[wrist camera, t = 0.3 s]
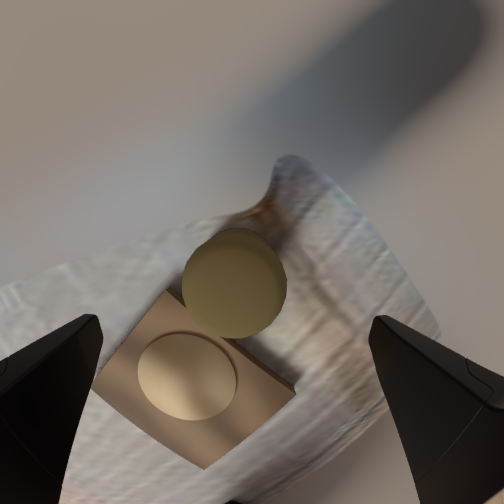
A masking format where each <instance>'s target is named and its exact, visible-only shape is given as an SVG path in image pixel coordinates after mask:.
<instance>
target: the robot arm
mask: <svg viewBox="0 0 504 504" xmlns="http://www.w3.org/2000/svg"><path fill="white" fill-rule="evenodd" d="M102 344H103V333H102V330H101V326H100V323H99V319H98V317H97V316H96V315H94V314H84V315H82V316H80V317H78V318H77V319H75V320H73V321H71V322H69V323H67V324H66V325H64V326H62V327H60V328H58V329H56V330H55V331H53V332H51V333H49V334H47V335H46V336H44V337H42V338H40V339H38V340H37V341H35V342H33V343H31V344H30V345H28V346H26V347H24V348H22V349H21V350H19V351H17V352H15V353H14V354H12V355H10V356H9V357H6V358H5V359H3V360H1V361H0V504H59V499H60V494H61V490H62V484H63V480H64V476H65V472H66V468H67V464H68V460H69V456H70V452H71V449H72V445H73V441H74V438H75V435H76V431H77V428H78V425H79V421H80V418H81V415H82V412H83V409H84V406H85V403H86V400H87V397H88V394H89V391H90V388H91V385H92V382H93V379H94V376H95V372H96V367H97V363H98V359H99V355H100V351H101V348H102ZM369 345H370V349H371V352H372V356H373V360H374V363H375V367H376V371H377V375H378V378H379V381H380V384H381V386H382V389H383V392H384V394H385V397H386V400H387V402H388V405H389V408H390V410H391V413H392V416H393V419H394V422H395V424H396V427H397V429H398V433H399V436H400V438H401V442H402V445H403V448H404V451H405V454H406V457H407V460H408V463H409V466H410V469H411V473H412V476H413V479H414V483H415V486H416V490H417V493H418V497H419V500H420V504H504V377H503V376H501V375H499V374H497V373H495V372H492V371H490V370H488V369H486V368H484V367H482V366H480V365H478V364H476V363H475V362H473V361H471V360H469V359H467V358H465V357H463V356H461V355H460V354H458V353H456V352H454V351H452V350H451V349H449V348H447V347H445V346H443V345H441V344H439V343H438V342H436V341H434V340H432V339H430V338H428V337H427V336H425V335H423V334H421V333H419V332H417V331H415V330H414V329H412V328H410V327H408V326H406V325H404V324H402V323H401V322H399V321H397V320H395V319H393V318H391V317H389V316H387V315H379V316H376V317H375V318H374V319H373V323H372V326H371V330H370V333H369ZM226 504H240V503H237V502H235V501H230V502H228V503H226Z"/></svg>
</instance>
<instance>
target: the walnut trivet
mask: <svg viewBox="0 0 504 504" xmlns="http://www.w3.org/2000/svg"><path fill="white" fill-rule="evenodd" d="M91 389H92V390H93V391H94V392H95V393H96V394H98V395H99V396H100V397H101V398H102V399H103V400H105V401H106V402H107V403H108V404H109V405H111V406H112V407H113V408H114V409H115V410H117V411H118V412H119V413H120V414H122V415H123V416H124V417H125V418H127V419H128V420H129V421H131V422H132V423H133V424H135V425H136V426H137V427H139V428H140V429H141V430H143V431H144V432H145V433H147V434H148V435H150V436H151V437H153V438H154V439H155V440H157V441H158V442H160V443H161V444H163V445H164V446H166V447H167V448H169V449H170V450H172V451H173V452H175V453H177V454H178V455H180V456H181V457H183V458H185V459H186V460H188V461H190V462H191V463H193V464H195V465H196V466H198V467H200V468H202V469H203V470H204V469H206V468H207V467H209V466H210V465H211V464H213V463H214V462H215V461H217V460H218V459H220V458H221V457H222V456H224V455H225V454H226V453H228V452H229V451H230V450H232V449H233V448H234V447H235V446H237V445H238V444H239V443H241V442H242V441H243V440H244V439H246V438H247V437H248V436H249V435H251V434H252V433H253V432H254V431H255V430H257V429H258V428H259V427H260V426H261V425H263V424H264V423H265V422H266V421H267V420H268V419H270V418H271V417H272V416H273V415H274V414H275V413H277V412H278V411H279V410H280V409H281V408H282V407H283V406H284V405H285V404H287V403H288V402H289V401H290V400H291V399H292V398H293V397H294V396H295V395H296V392H295V389H294V386H292V385H291V384H289V383H288V382H287V381H285V380H284V379H283V378H281V377H280V376H279V375H277V374H276V373H275V372H273V371H272V370H271V369H269V368H268V367H267V366H265V365H264V364H263V363H261V362H260V361H259V360H257V359H256V358H255V357H254V356H252V355H251V354H250V353H248V352H247V351H246V350H245V349H243V348H242V347H241V346H240V345H238V344H237V343H236V342H235V341H233V340H232V339H231V338H224V337H220V336H217V335H214V334H211V333H209V332H208V331H207V330H205V329H204V328H202V327H201V326H200V325H198V324H197V323H196V321H195V320H194V319H193V318H192V316H191V315H190V314H189V312H188V310H187V308H186V305H185V302H184V299H183V298H182V297H181V296H180V295H179V294H178V293H177V292H175V291H174V290H173V289H172V288H171V287H169V288H168V289H166V290H165V291H164V293H163V294H162V295H161V296H160V297H159V299H158V300H157V301H156V302H155V303H154V305H153V306H152V307H151V308H150V310H149V311H148V312H147V313H146V314H145V316H144V317H143V318H142V319H141V321H140V322H139V323H138V324H137V326H136V327H135V328H134V329H133V331H132V332H131V333H130V334H129V336H128V337H127V338H126V339H125V341H124V342H123V343H122V345H121V346H120V347H119V348H118V350H117V351H116V352H115V353H114V355H113V356H112V357H111V359H110V360H109V361H108V362H107V364H106V365H105V366H104V368H103V369H102V370H101V372H100V373H99V374H98V376H97V377H96V378H95V379H94V381H93V382H92V385H91Z"/></svg>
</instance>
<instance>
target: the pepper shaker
mask: <svg viewBox="0 0 504 504" xmlns="http://www.w3.org/2000/svg"><path fill="white" fill-rule="evenodd" d="M286 292H287V278H286V275H285V271H284V268H283V265H282V263H281V261H280V260H279V258H278V257H277V255H276V254H275V253H274V251H273V250H272V249H271V247H270V246H269V245H268V243H267V242H266V240H265V239H264V238H262V237H261V236H260V235H258V234H257V233H256V232H254V231H251V230H248V229H245V228H230V229H227V230H224V231H221V232H219V233H218V234H216V235H215V236H214V237H212V238H211V239H209V240H208V241H206V242H205V243H204V244H202V245H201V246H200V247H198V248H197V249H196V250H195V251H194V253H193V254H192V255H191V257H190V258H189V260H188V261H187V263H186V266H185V269H184V272H183V276H182V296H183V299H184V302H185V305H186V308H187V310H188V312H189V314H190V315H191V316H192V318H193V319H194V320H195V321H196V323H197V324H198V325H200V326H201V327H202V328H204V329H205V330H207V331H208V332H209V333H211V334H214V335H217V336H220V337H224V338H245V337H248V336H252V335H255V334H257V333H259V332H260V331H262V330H263V329H265V328H266V327H268V326H269V325H270V324H271V323H272V322H273V321H274V319H275V318H276V317H277V316H278V314H279V313H280V311H281V309H282V306H283V304H284V301H285V298H286Z"/></svg>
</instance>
